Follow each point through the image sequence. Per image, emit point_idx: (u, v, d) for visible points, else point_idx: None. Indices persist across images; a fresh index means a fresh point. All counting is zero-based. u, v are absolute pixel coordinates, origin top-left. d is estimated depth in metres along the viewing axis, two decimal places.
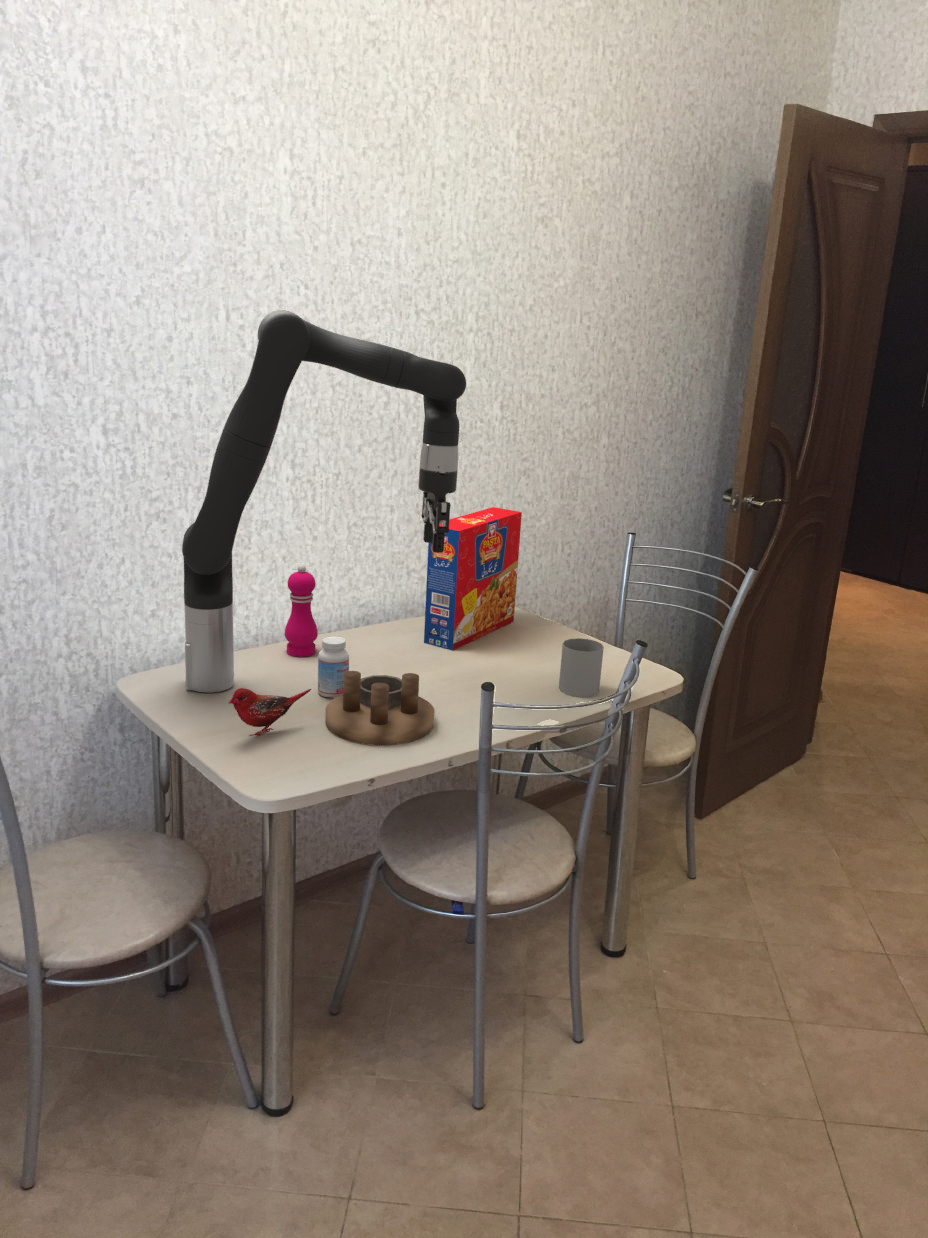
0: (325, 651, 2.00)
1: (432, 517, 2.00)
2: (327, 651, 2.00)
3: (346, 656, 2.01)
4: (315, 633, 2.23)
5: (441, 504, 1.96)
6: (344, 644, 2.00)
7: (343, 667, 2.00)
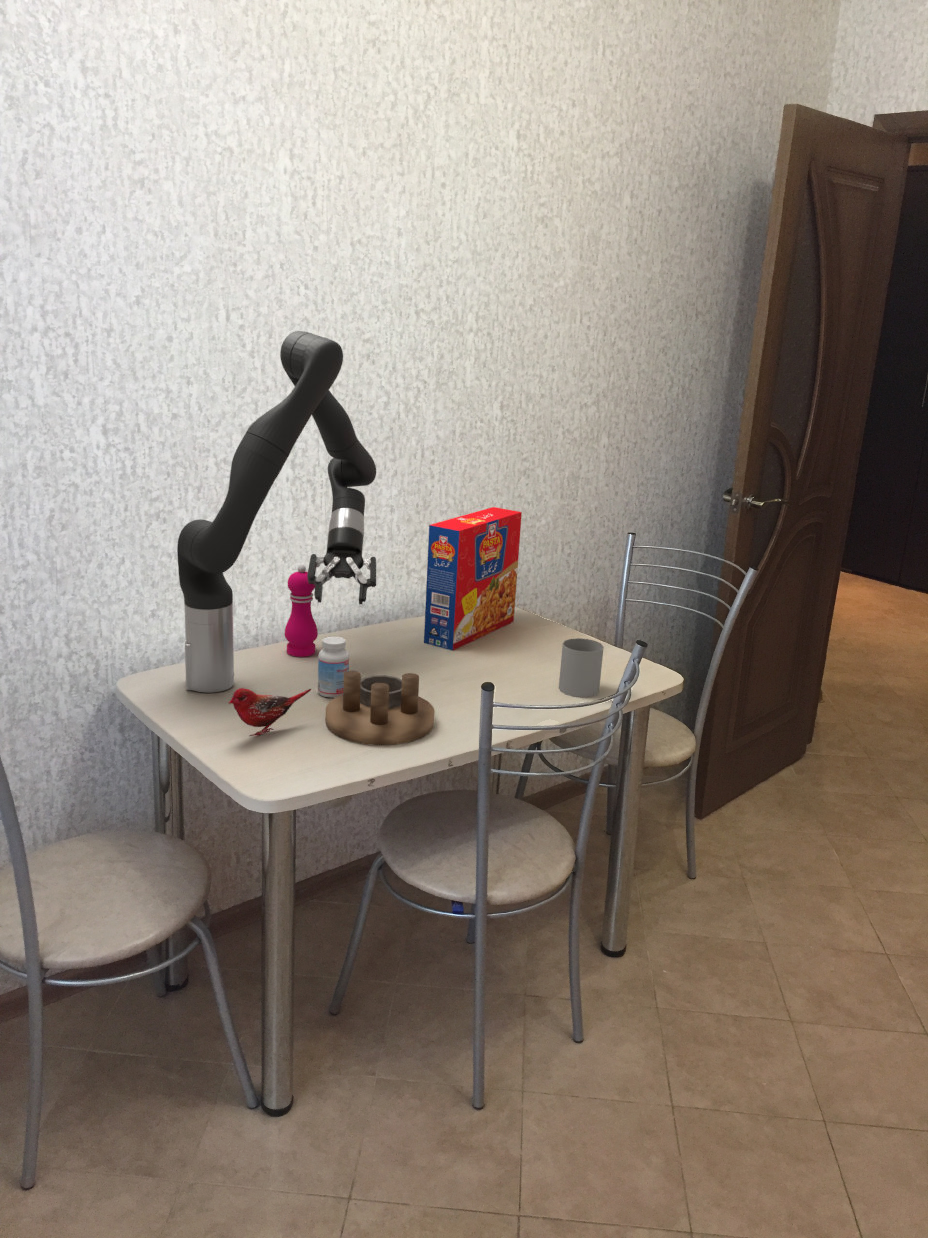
0: (325, 651, 2.00)
1: None
2: (327, 651, 2.00)
3: (346, 656, 2.01)
4: (315, 633, 2.23)
5: (375, 559, 2.15)
6: (344, 644, 2.00)
7: (343, 667, 2.00)
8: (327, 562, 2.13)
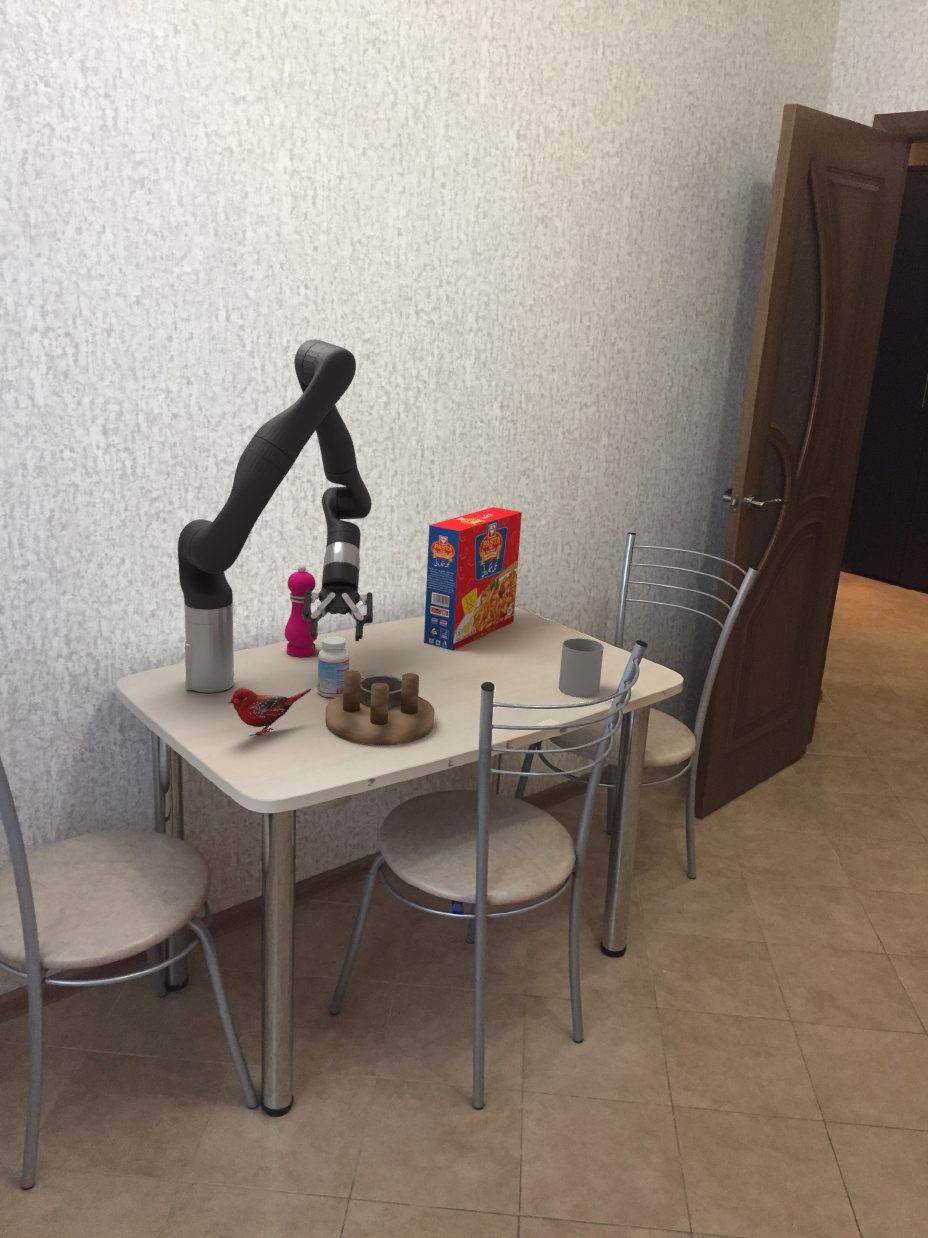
0: (325, 651, 2.00)
1: None
2: (327, 651, 2.00)
3: (346, 656, 2.01)
4: None
5: None
6: (344, 644, 2.00)
7: (343, 667, 2.00)
8: (322, 598, 2.08)
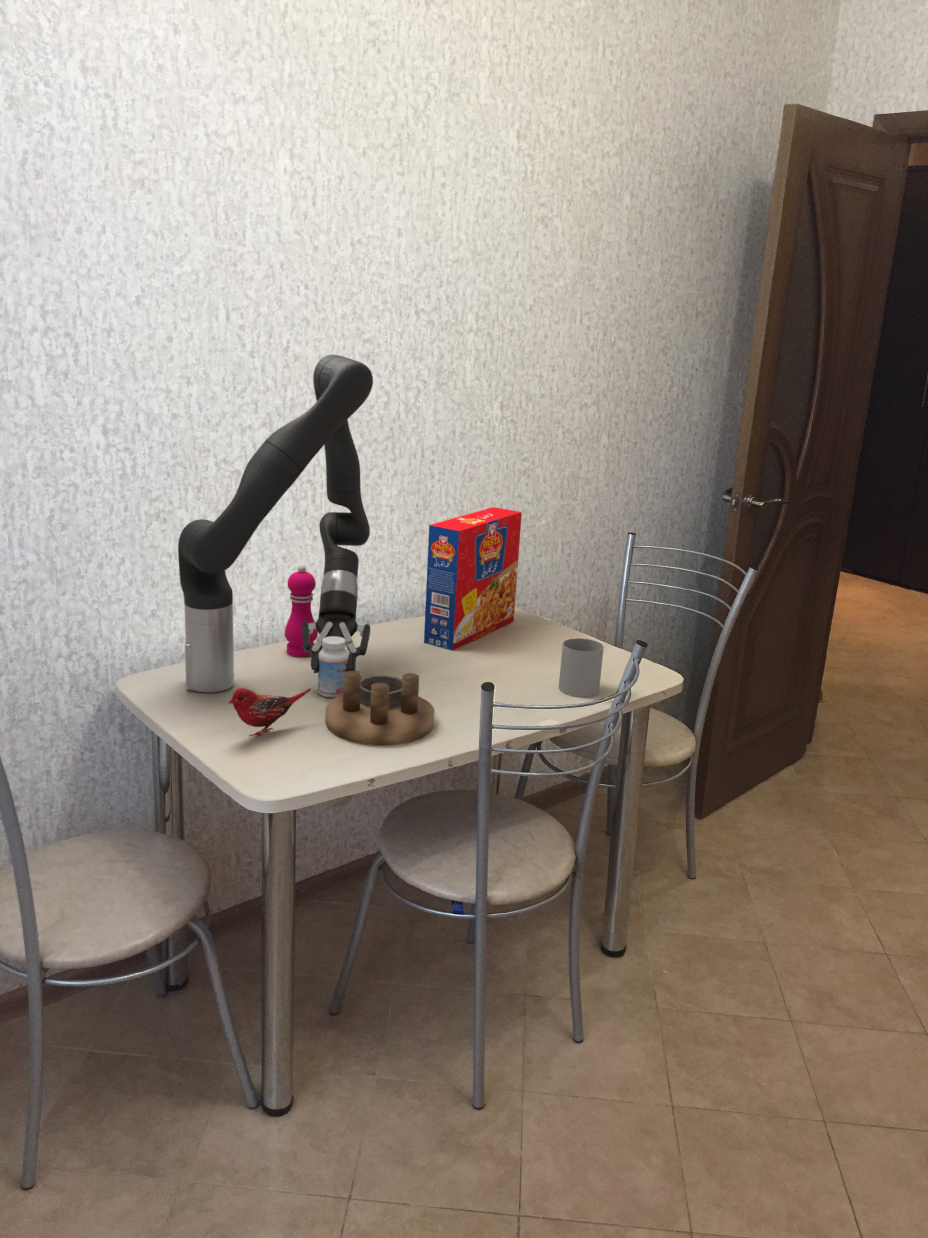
0: (325, 651, 2.00)
1: (351, 638, 2.03)
2: (327, 651, 2.00)
3: (346, 656, 2.01)
4: (315, 633, 2.23)
5: None
6: (344, 644, 2.00)
7: (343, 666, 2.00)
8: (320, 627, 2.04)
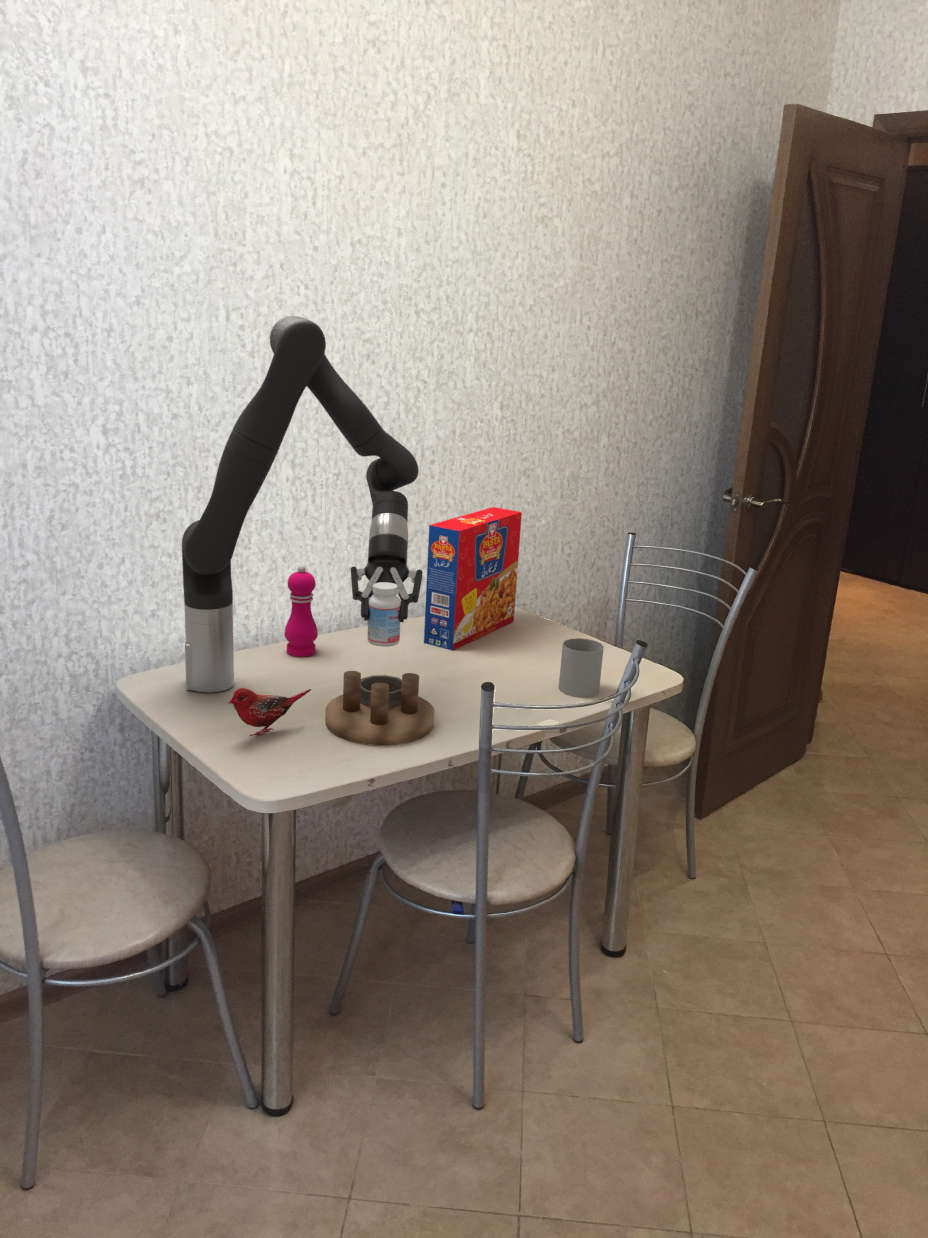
0: (376, 597, 1.89)
1: None
2: (378, 597, 1.88)
3: (398, 602, 1.89)
4: (315, 633, 2.23)
5: None
6: (396, 589, 1.89)
7: (395, 613, 1.89)
8: (370, 573, 1.93)
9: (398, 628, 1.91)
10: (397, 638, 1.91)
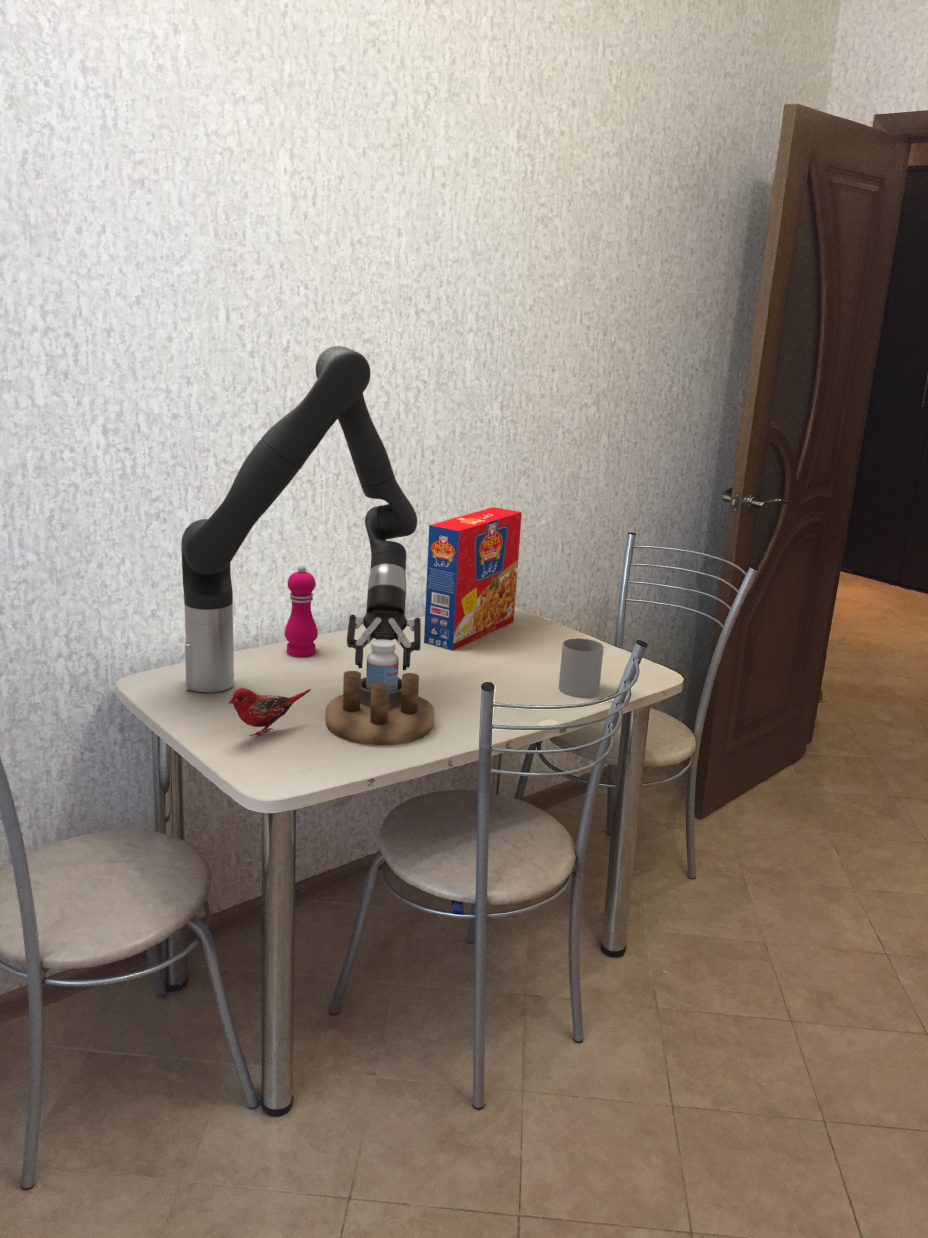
0: (374, 654, 1.92)
1: None
2: (377, 654, 1.92)
3: (396, 659, 1.93)
4: (315, 633, 2.23)
5: None
6: (394, 647, 1.93)
7: (392, 670, 1.93)
8: (368, 623, 1.96)
9: (396, 684, 1.94)
10: None
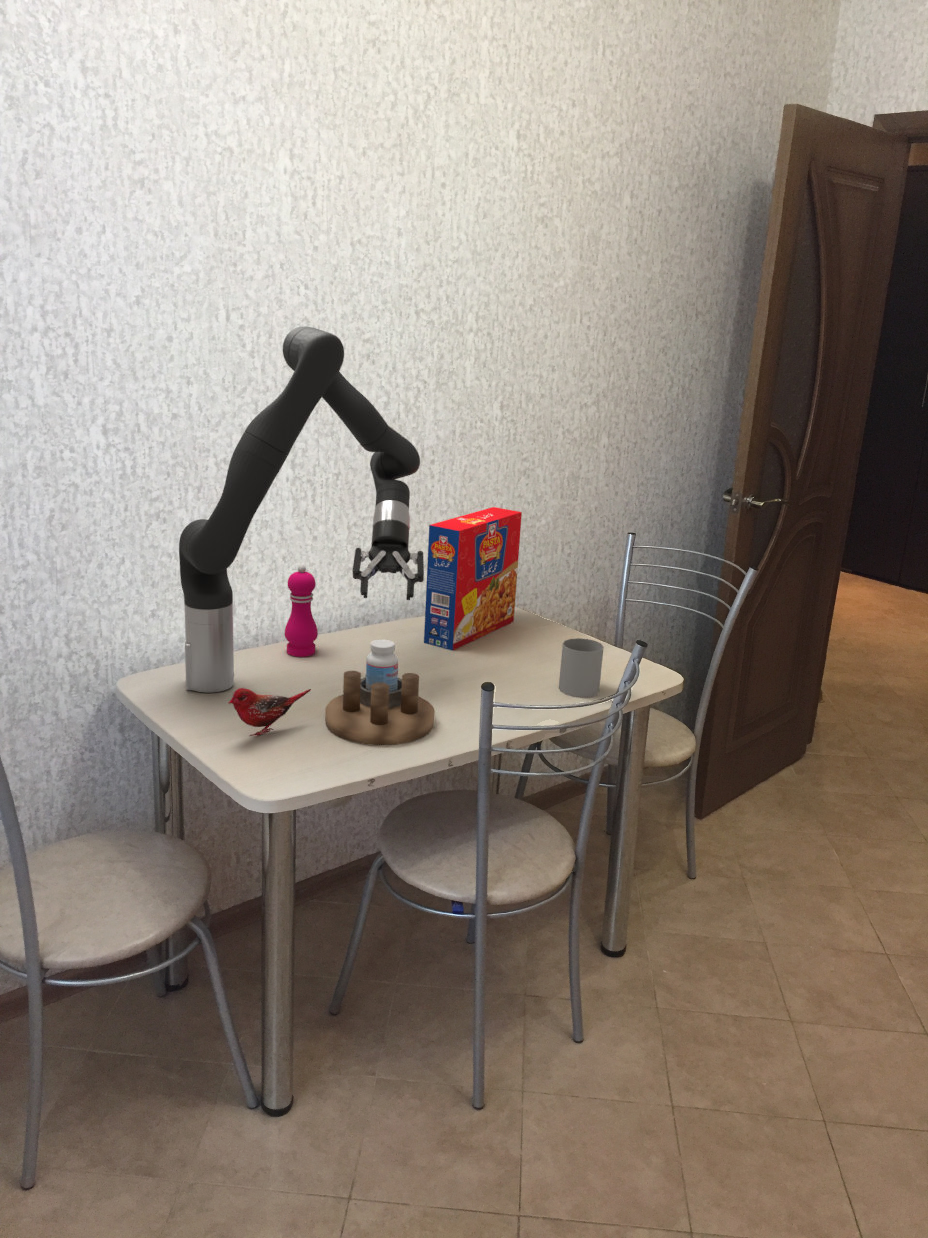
0: (374, 655, 1.92)
1: None
2: (376, 655, 1.92)
3: (396, 660, 1.93)
4: (315, 633, 2.23)
5: None
6: (393, 647, 1.93)
7: (392, 671, 1.92)
8: (373, 556, 2.05)
9: (396, 685, 1.94)
10: None
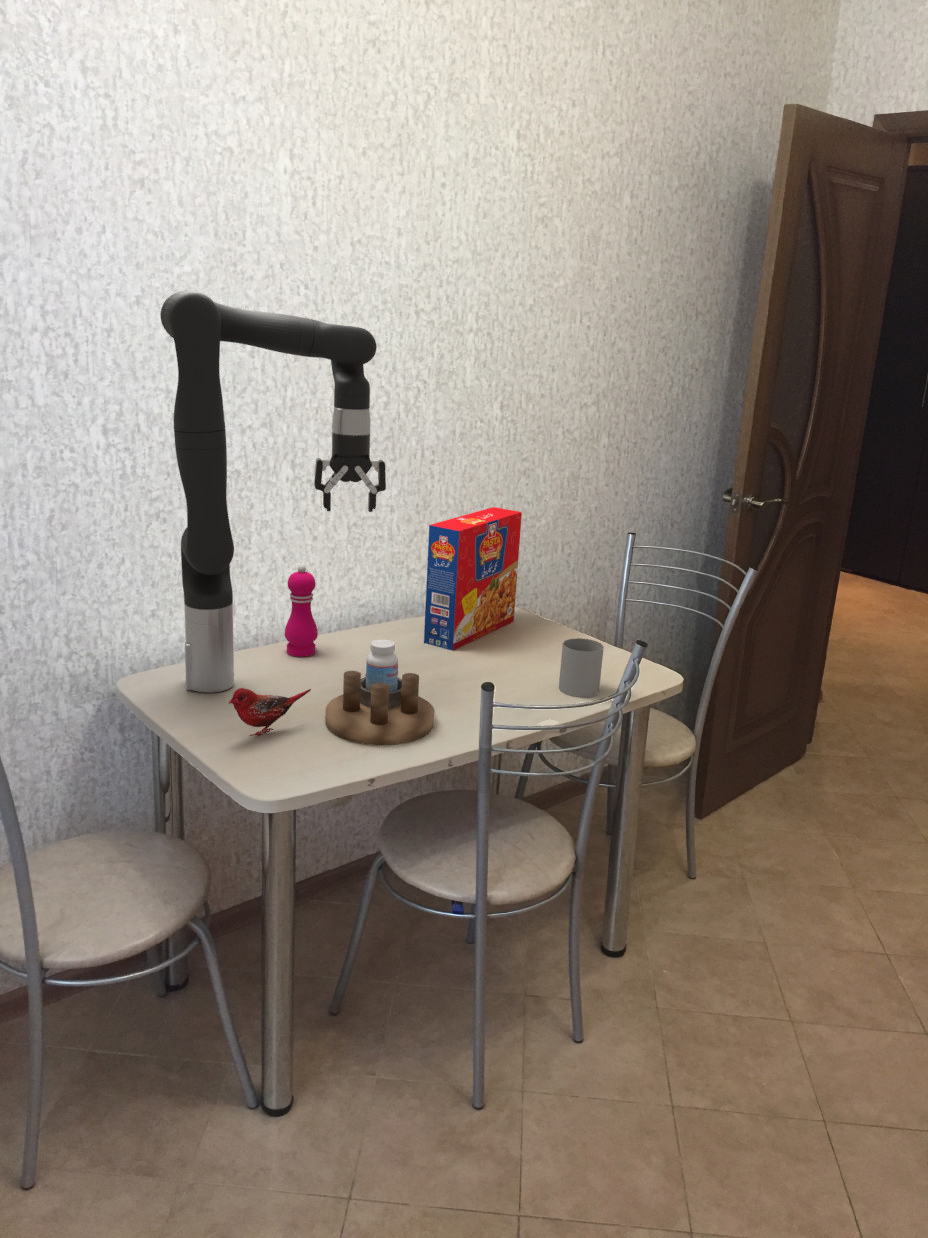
0: (374, 655, 1.92)
1: (369, 479, 2.05)
2: (376, 655, 1.92)
3: (396, 660, 1.93)
4: (315, 633, 2.23)
5: None
6: (393, 647, 1.93)
7: (392, 671, 1.92)
8: (334, 469, 2.03)
9: (396, 685, 1.94)
10: None
